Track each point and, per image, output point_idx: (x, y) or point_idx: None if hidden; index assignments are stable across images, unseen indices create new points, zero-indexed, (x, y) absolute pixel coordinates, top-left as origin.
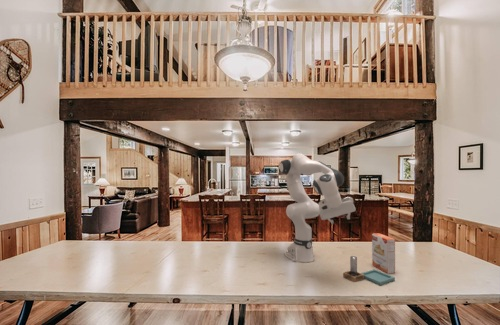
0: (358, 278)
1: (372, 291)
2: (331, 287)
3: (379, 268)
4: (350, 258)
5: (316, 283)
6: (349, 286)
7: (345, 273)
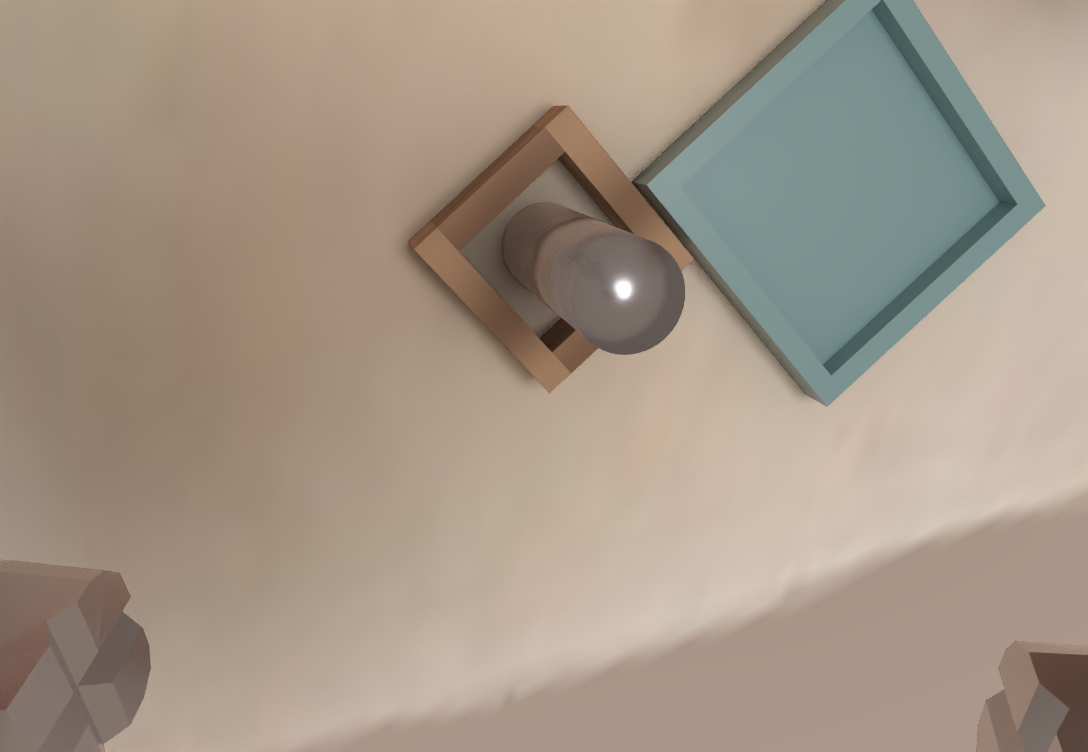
0: None
1: (685, 554)
2: (236, 601)
3: None
4: (566, 307)
5: (33, 551)
6: (456, 509)
7: (443, 273)
